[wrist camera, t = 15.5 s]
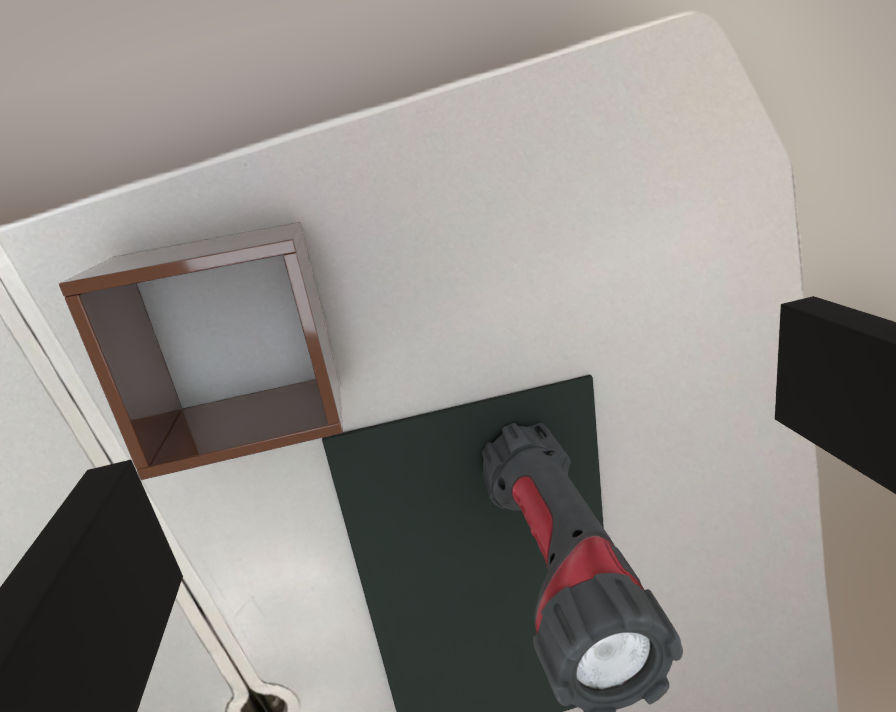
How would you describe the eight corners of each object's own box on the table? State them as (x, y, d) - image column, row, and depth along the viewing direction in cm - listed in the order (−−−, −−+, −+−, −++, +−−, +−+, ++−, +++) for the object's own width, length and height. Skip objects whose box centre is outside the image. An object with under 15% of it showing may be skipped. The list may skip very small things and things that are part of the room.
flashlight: (456, 496, 52) (545, 734, 31) (468, 418, 49) (572, 618, 28) (537, 496, 54) (673, 721, 32) (551, 420, 51) (709, 611, 30)
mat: (590, 374, 51) (592, 376, 50) (613, 691, 65) (615, 695, 65) (322, 437, 48) (322, 440, 47) (409, 755, 62) (409, 759, 62)
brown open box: (300, 221, 42) (292, 239, 33) (340, 382, 47) (343, 433, 38) (113, 256, 40) (57, 283, 32) (175, 419, 45) (140, 480, 37)
